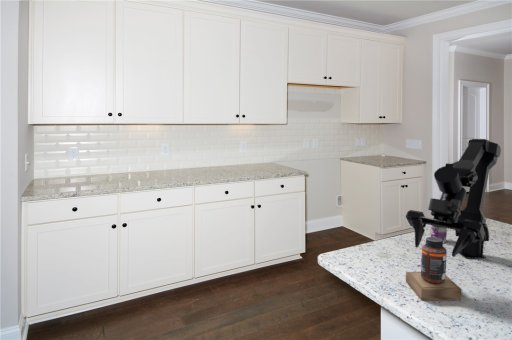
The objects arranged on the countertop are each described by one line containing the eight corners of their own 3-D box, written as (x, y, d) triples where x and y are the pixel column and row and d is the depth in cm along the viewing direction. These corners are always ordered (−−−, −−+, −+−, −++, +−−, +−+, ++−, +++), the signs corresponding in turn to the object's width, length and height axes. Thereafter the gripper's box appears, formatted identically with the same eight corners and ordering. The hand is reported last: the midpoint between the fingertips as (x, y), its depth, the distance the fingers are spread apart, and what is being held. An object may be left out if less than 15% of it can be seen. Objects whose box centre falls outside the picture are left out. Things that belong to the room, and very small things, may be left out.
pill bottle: (427, 238, 130) (428, 214, 128) (440, 237, 130) (441, 214, 128) (435, 243, 124) (436, 218, 123) (449, 242, 124) (450, 217, 123)
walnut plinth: (441, 281, 95) (441, 271, 95) (460, 300, 85) (461, 288, 85) (405, 281, 96) (406, 271, 95) (421, 300, 86) (421, 288, 85)
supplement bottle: (450, 283, 88) (452, 242, 86) (430, 285, 87) (431, 243, 85) (435, 273, 93) (437, 234, 92) (415, 275, 93) (417, 236, 91)
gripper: (409, 182, 97) (390, 228, 91) (484, 191, 83) (468, 245, 77) (419, 204, 103) (402, 247, 98) (491, 215, 90) (476, 266, 84)
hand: (433, 251), depth 89 cm, fingers open, 9 cm apart
